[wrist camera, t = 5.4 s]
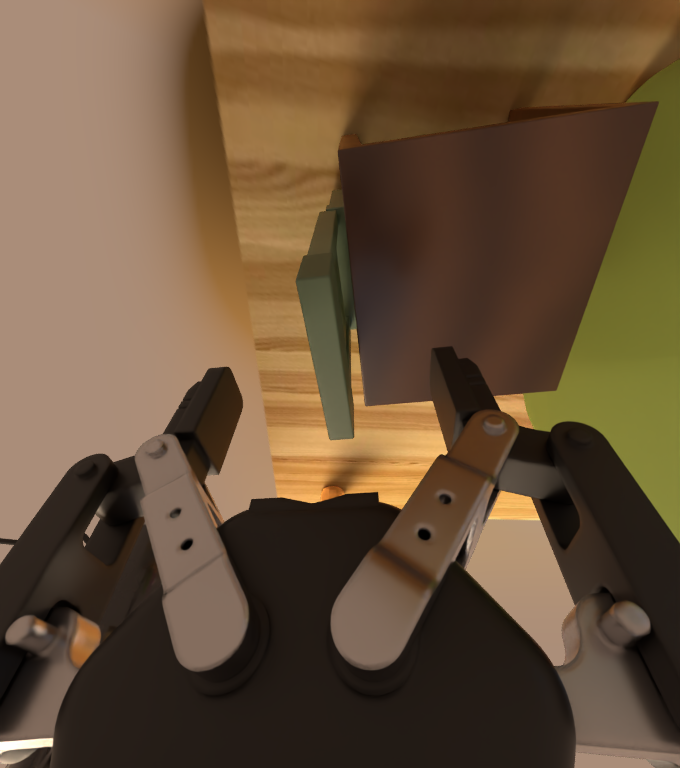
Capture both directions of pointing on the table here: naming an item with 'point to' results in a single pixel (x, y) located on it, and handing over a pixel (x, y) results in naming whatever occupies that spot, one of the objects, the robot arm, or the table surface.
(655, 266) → the green and pink pieces
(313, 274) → the chair
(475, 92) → the table surface
